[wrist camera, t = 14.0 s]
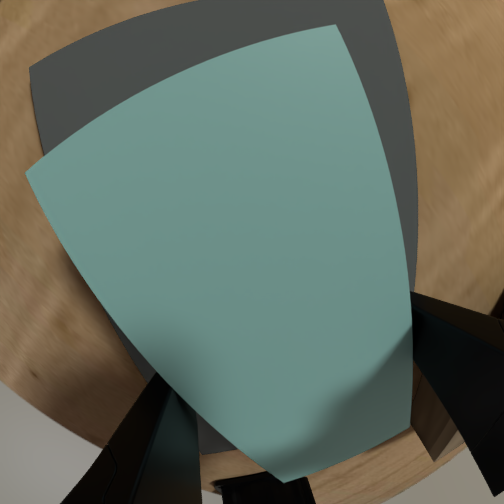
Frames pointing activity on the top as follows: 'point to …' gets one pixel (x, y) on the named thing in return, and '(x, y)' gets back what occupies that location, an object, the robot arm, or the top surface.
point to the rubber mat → (213, 45)
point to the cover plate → (250, 247)
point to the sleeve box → (434, 422)
